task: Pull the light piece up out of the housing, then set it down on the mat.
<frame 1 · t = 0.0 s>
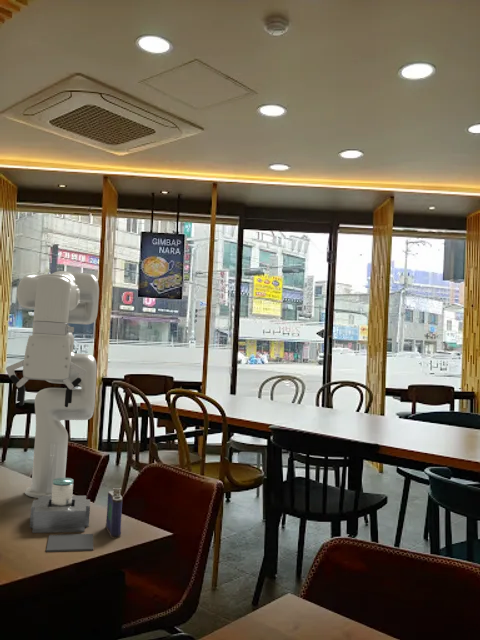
hand: (44, 405, 127), 31 cm above the table, tool pointing down, fingers open, 9 cm apart
housing: (60, 523, 142), on the table
mat: (70, 543, 128), on the table
flask: (113, 532, 137), on the table
light piece: (61, 501, 142), in the housing
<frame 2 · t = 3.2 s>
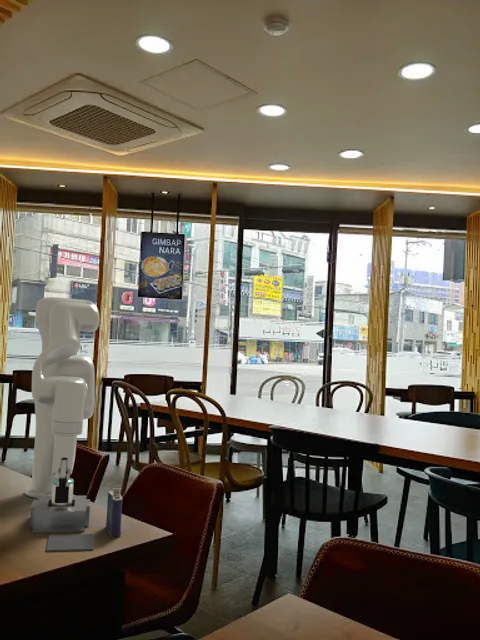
hand: (61, 498, 142), 6 cm above the table, tool pointing down, fingers closed on light piece, 5 cm apart
light piece: (61, 501, 142), in the housing, touching gripper
everything else where it was.
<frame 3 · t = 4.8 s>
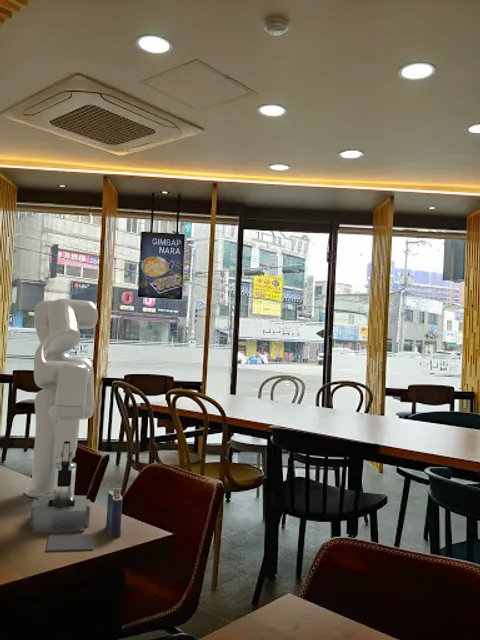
hand: (64, 482, 142), 10 cm above the table, tool pointing down, fingers closed on light piece, 5 cm apart
light piece: (64, 485, 142), point 9 cm above the table, touching gripper
everything else where it was.
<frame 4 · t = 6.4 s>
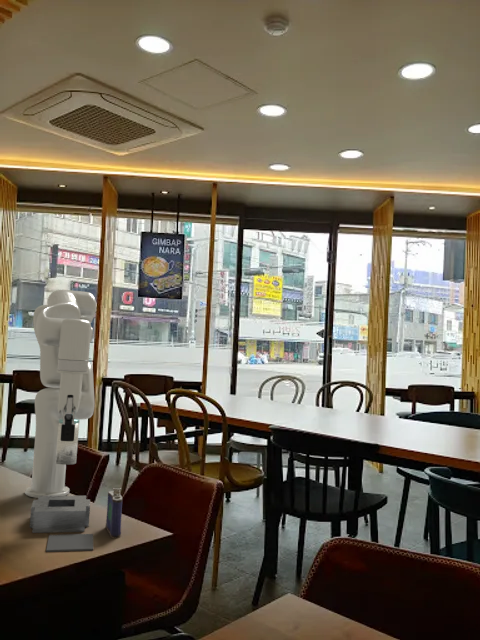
hand: (67, 438, 141), 22 cm above the table, tool pointing down, fingers closed on light piece, 5 cm apart
light piece: (67, 441, 141), point 21 cm above the table, touching gripper
everything else where it was.
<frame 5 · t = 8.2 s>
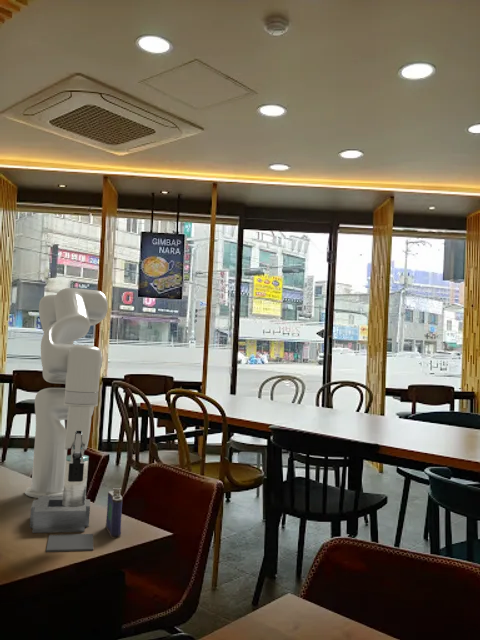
hand: (75, 477, 129), 15 cm above the table, tool pointing down, fingers closed on light piece, 5 cm apart
light piece: (75, 480, 128), point 14 cm above the table, touching gripper
everything else where it was.
when the fingers open (8 cm above the table, at t = 9.6 s): light piece drops 1 cm, resting on mat.
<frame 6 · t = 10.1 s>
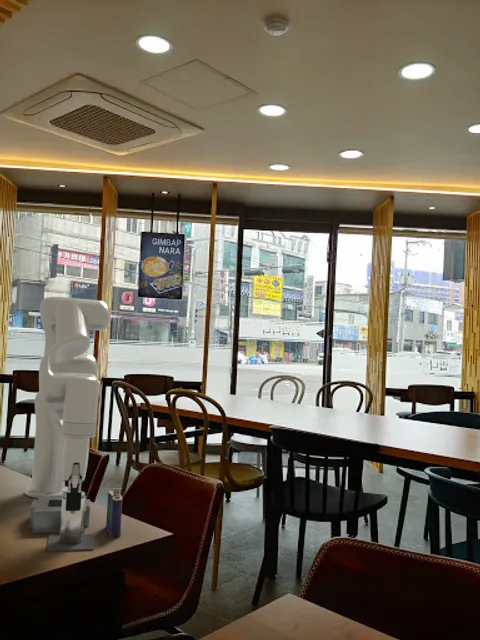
hand: (73, 504, 128), 9 cm above the table, tool pointing down, fingers open, 9 cm apart
light piece: (72, 517, 128), on the mat
everything else where it was.
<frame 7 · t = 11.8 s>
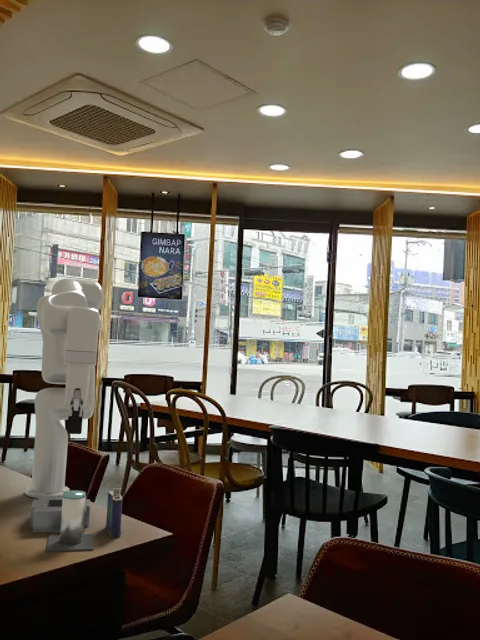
hand: (74, 429, 134), 25 cm above the table, tool pointing down, fingers open, 9 cm apart
nothing on the table moved.
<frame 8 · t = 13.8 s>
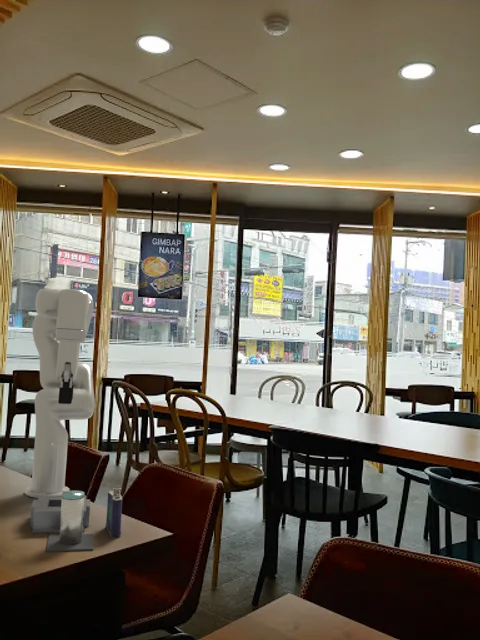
hand: (65, 401, 146), 30 cm above the table, tool pointing down, fingers open, 9 cm apart
nothing on the table moved.
at the end: light piece inside the target area on the mat (0.3 cm from its centre), point 5.9 cm above the mat's base; light piece tilted 1°; light piece touching mat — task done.
